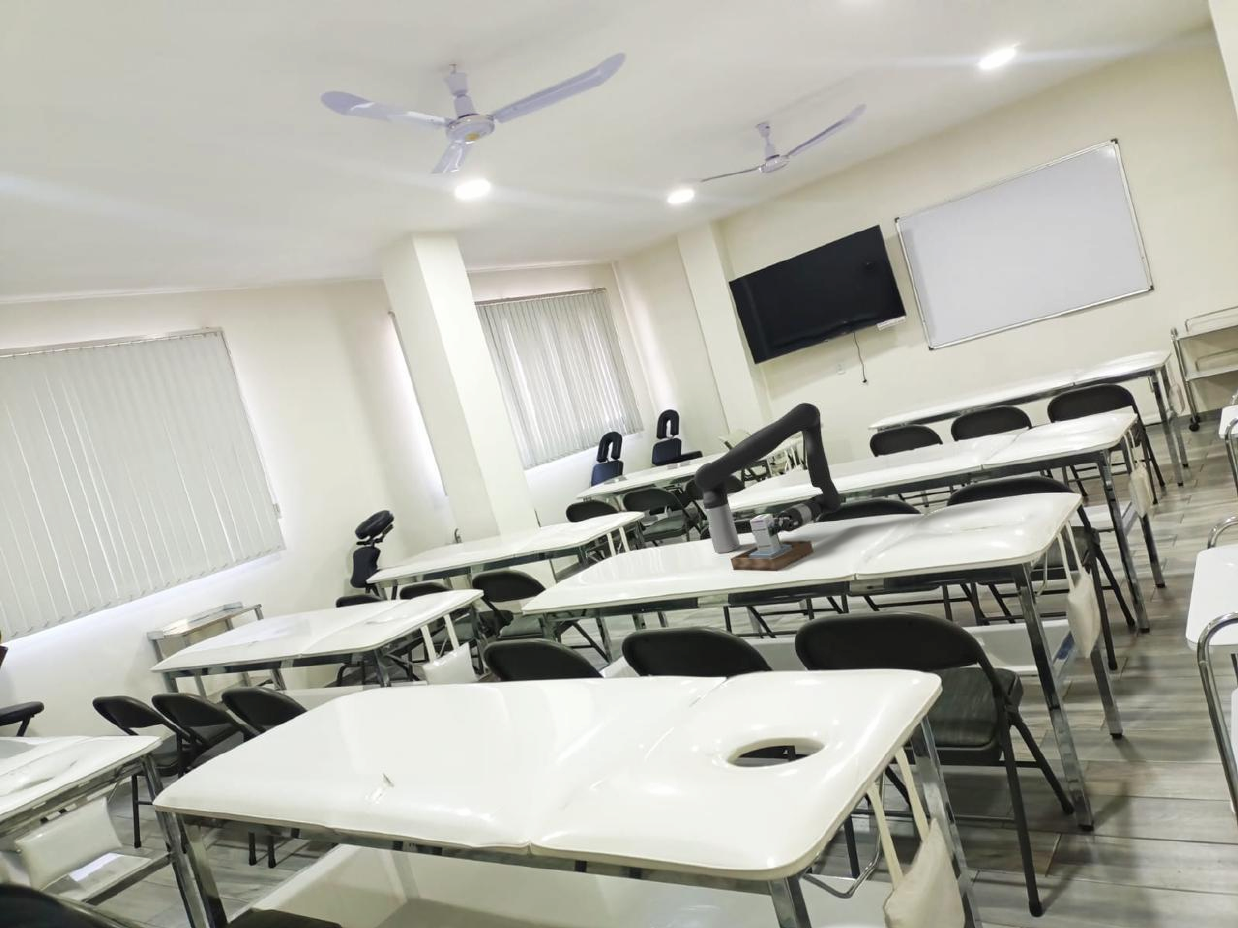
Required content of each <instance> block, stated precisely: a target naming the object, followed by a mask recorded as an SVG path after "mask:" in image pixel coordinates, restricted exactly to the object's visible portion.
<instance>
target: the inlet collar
mask: <svg viewBox="0 0 1238 928" xmlns="http://www.w3.org/2000/svg"><path fill="white" fill-rule="evenodd" d="M781 547H782V549H780V550H777V551H775V552H773V553H771V554H759V551H756V552H754V553H752V554H749V556H750V558H774V557H776V556H778V555H780V554H782V553H785V552H787V551H789V550H791V549H792V546H791V545H781Z"/></svg>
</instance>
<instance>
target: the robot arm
mask: <svg viewBox="0 0 1238 928" xmlns="http://www.w3.org/2000/svg"><path fill="white" fill-rule="evenodd" d="M800 432H801V435H802V437H803V440H804V446H805V454H806V455H805V456H806V464H807V465H806V466H807V470H808V475H809V478H810V479H809V480H810V484H811V486H812V487H813V488H817V489H819V490H821V492H822V493H820V494H819V493H818V494H816V495H814V496H811V497H810V498H808V499H807V500H806V501H805V500H804V501H803V502H801V503H799V504H794V505H791V507H788V508H785V509H783V510H781V511H780V512H779V513H778V516H777V517H776V518H773V519H774V523H775V527H773V528H771V529H770V533H771V535H775V534H777V533H778V534H779V533H784V532H786V533H787V532H788V533H790V532H793V531H795V530H798V529H799V528H801V527H803V526H806V525H807V524H809V523H811V522H812V521H814V520H816V519H818V518H819V517H820V516H821V515H823V514H825V515H826V514H831V513H836V512H837V511H839V510H840V509H841V505H842V500H841V495H840V493H839V492H838V489H837V488H836V486H835V483H834V481H833V479H832V478H831V471H830V468H829V463H828V460H827V456H826V452H825V448H824V442H823V437H822V436H823V435H822V424H821V412H820V410H819V408H818V407H817V406H816V405H814V404H811V403H809V402H802V403H799V404H797V405H796V406H794V407H793V408H792V409H790V411H788V412H787V413H786V414H784V415H783V416H782V417H780V418H779V419H778V420H776V421H774V422H772V423H771V424H769V425H766V426H764V427H763V428H761V429H759V430H757V431H755V432H754V433H752V434H750V435H749V436H747V437H745V438H744V439H743V440H741V441H740V442H738V443H737V444H736V445H735V446H734V447H732V448H731V449H730V450H729V451H728V452H726V453H725V454H724V455H722V456H721V457H720V458H719V457H718V458H717V459H715V460H714V461H712V462H707V463H704V464H702V465H701V466H700V467H699V468H698V469H697V470H696V471H695V473H694V477H693V480H694V481H693V482H694V484H695V485H696V487H698V489H700V490H701V492H702V496H703V497H702V498H703V499H702V503H703V508H704V511H705V515H706V517H707V519H706V520H707V523H708V524H709V526H708V532H709V536H710V539H711V543H712V547H713V550H714V553H717V554H725V553H729V552H733V551H735V550H737V549H740V548H741V544H740V539H739V536H738V531H737V529H736V528H737V527H736V525H735V520H734V518H733V517H734V516H733V513H732V510H731V506H730V503H729V499H728V490H727V486H726V482H725V479H727V478H729V477H730V476H732V475H733V474H735V473H738V472H739V471H740V470H743V469H745V468H747V467H749V466H751V465H753V464H755V463H757V462H758V461H760V460H762V459H763V458H765V457H766V456H768V455H769V454H771V453H772V452H773V451H774V450H776V449H777V448H778V447H779V446H780V445H781V444H782V443H784V442H785V441H786V440H788V439H789V438H790V437H793V436H795V435H796V434H798V433H800ZM751 532H752V536H754V534H753V531H752V530H751Z"/></svg>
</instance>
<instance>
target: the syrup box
mask: <svg viewBox="0 0 1238 928" xmlns="http://www.w3.org/2000/svg"><path fill="white" fill-rule="evenodd" d="M774 519H775V518H774V516H773V513H764V514H760V515H757V516H755V517H754V518H752V519H751V520H749V523H750V527H751V532H752V531H753V533H752V535H753V534H754V535H753V537H754V540H755V545H756V546H757V548H758V551H759V554H771V553H773V552H775V551H777V550H780V549H782V547H781V544H780V541H781V540H780V538H779V533H777V534H775V535H771V533H770V529H771V528H773V527H775V523H774Z"/></svg>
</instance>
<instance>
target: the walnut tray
mask: <svg viewBox="0 0 1238 928" xmlns="http://www.w3.org/2000/svg"><path fill="white" fill-rule="evenodd" d="M780 544H781V545H791V546H792V549H791V550H789V551H787V552H785V553H782V554H780V555H778V556H776V557H774V558H750V556H749V554H752V553H754V552H756V551H758V548H757V545H756V546H754V547H752V548H750V549H747V550H746V551H743V552H741V553H739V554H738V555H735V556H733V557H730V562H731V565H732V570H733V571H756V572H758V571H759V572H760V571H762V572H764V571H765V572H777V571H779V570H782V569H783V568H785V567H787V566H789V565H791V564H793V563H796V562H797V561H799V560H801V559H803V558H806V557H807V556H809V555H811V554H813V553H814V549H813V546H812V541H811V540H780Z"/></svg>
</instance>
